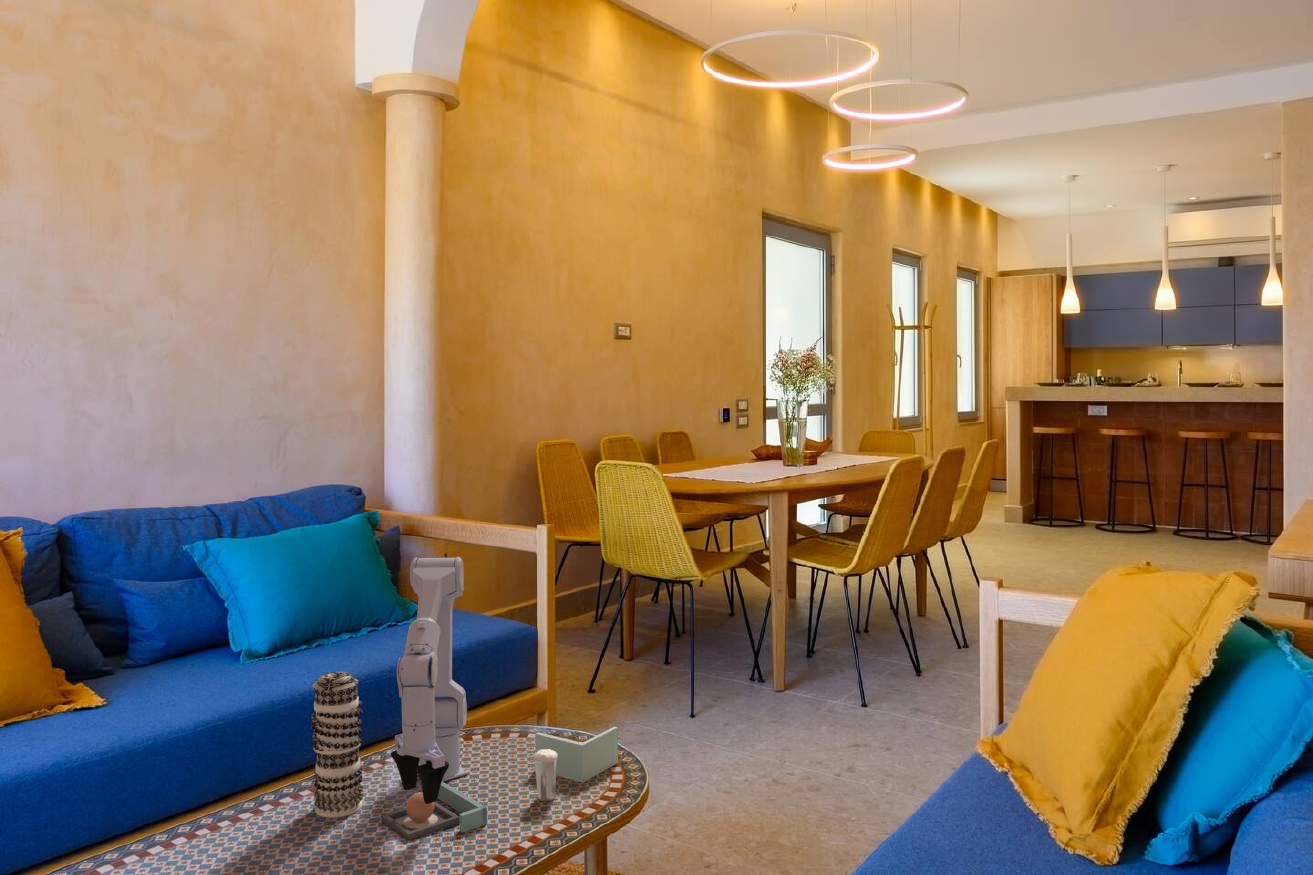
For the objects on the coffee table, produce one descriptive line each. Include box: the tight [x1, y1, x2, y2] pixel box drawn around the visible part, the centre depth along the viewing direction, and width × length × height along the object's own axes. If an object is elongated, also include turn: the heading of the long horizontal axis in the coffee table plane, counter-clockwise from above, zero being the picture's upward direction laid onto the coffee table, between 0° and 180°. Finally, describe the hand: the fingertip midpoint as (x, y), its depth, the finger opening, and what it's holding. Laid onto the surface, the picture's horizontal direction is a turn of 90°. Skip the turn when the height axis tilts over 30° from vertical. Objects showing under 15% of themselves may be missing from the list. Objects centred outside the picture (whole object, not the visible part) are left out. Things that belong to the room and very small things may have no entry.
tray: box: [381, 801, 460, 842], centre depth 177 cm, size 10×10×1 cm
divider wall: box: [437, 781, 488, 834], centre depth 181 cm, size 17×5×3 cm, turn 42°
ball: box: [405, 791, 435, 822], centre depth 177 cm, size 5×5×5 cm
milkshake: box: [533, 747, 562, 802], centre depth 187 cm, size 4×5×10 cm
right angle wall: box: [534, 726, 619, 783], centre depth 203 cm, size 12×12×8 cm
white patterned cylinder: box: [310, 671, 364, 819], centre depth 183 cm, size 9×9×25 cm
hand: (420, 795), depth 177 cm, fingers open, 7 cm apart
